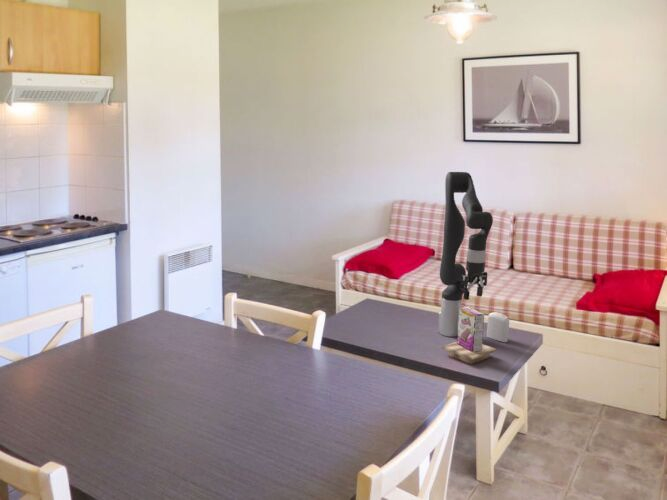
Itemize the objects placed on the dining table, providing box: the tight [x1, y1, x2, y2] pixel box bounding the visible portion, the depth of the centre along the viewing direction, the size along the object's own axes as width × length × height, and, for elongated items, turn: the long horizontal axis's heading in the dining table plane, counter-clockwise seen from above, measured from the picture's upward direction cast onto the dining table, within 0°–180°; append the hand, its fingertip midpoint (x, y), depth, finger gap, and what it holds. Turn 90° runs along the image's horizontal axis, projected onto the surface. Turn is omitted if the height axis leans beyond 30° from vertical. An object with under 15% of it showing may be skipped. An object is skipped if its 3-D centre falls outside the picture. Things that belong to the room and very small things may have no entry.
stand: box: [441, 341, 497, 365], centre depth 276 cm, size 16×16×4 cm
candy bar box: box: [456, 306, 485, 352], centre depth 274 cm, size 11×5×16 cm, turn 27°
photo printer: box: [486, 311, 510, 343], centre depth 298 cm, size 10×4×12 cm, turn 39°
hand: (472, 297), depth 271 cm, fingers open, 8 cm apart
